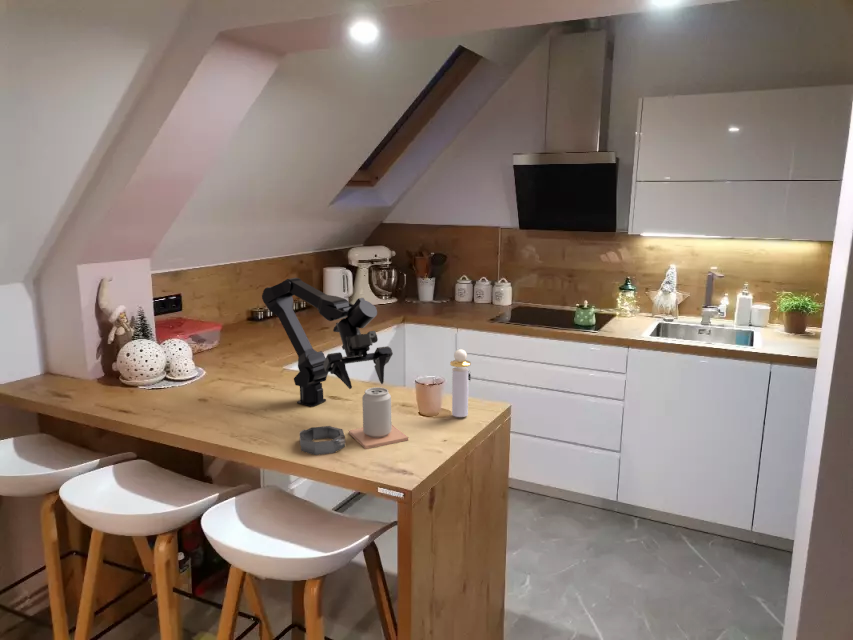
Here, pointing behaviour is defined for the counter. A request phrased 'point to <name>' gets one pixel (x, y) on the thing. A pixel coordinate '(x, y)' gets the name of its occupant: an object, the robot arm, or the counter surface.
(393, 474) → the counter surface
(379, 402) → the can
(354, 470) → the counter surface
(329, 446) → the collar
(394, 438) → the coaster
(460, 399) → the perfume bottle
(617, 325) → the counter surface
